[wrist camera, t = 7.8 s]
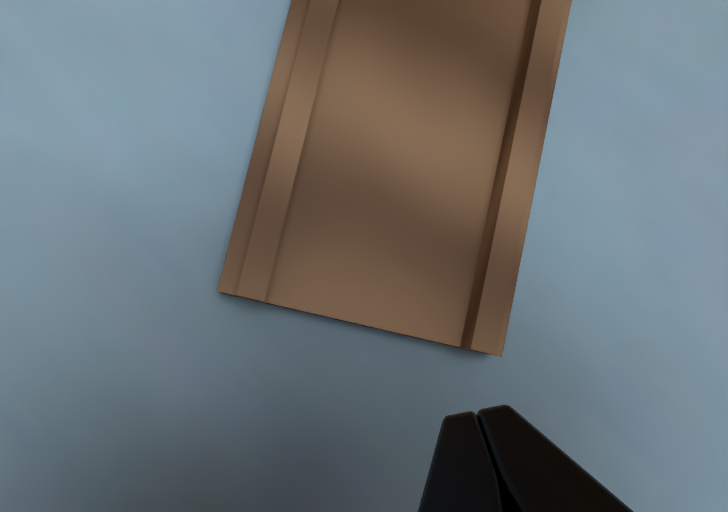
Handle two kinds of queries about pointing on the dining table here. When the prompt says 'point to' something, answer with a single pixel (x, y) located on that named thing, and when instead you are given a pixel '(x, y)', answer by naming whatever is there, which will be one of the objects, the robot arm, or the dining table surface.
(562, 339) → the dining table surface
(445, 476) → the robot arm
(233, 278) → the rail
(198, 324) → the dining table surface
